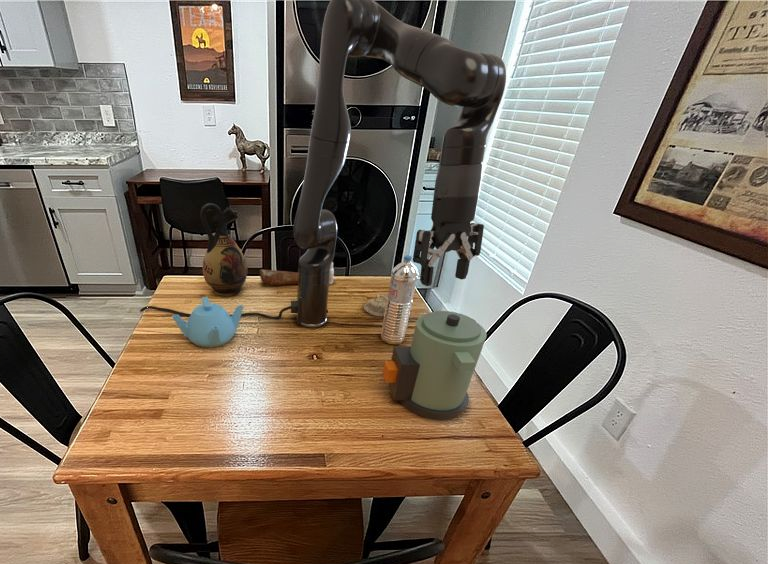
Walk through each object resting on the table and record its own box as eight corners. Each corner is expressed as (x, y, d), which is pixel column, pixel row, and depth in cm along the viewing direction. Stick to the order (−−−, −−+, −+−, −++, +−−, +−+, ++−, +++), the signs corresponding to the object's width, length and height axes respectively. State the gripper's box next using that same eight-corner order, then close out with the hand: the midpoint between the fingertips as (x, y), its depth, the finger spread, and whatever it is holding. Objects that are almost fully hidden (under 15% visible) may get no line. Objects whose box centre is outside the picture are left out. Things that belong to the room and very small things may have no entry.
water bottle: (404, 346, 110) (422, 262, 95) (380, 344, 111) (394, 260, 97) (403, 334, 115) (420, 253, 101) (380, 332, 116) (394, 251, 102)
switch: (385, 382, 87) (388, 370, 85) (382, 373, 90) (384, 360, 88) (396, 382, 87) (399, 370, 85) (392, 373, 90) (395, 360, 88)
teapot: (248, 331, 116) (246, 299, 110) (219, 356, 105) (215, 321, 99) (206, 320, 121) (202, 288, 115) (175, 342, 110) (168, 308, 104)
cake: (398, 309, 130) (402, 295, 127) (385, 321, 123) (389, 306, 120) (371, 299, 134) (374, 285, 131) (358, 310, 128) (361, 295, 124)
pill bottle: (334, 281, 148) (335, 261, 143) (331, 285, 144) (333, 265, 140) (323, 279, 149) (324, 260, 144) (320, 283, 145) (321, 264, 141)
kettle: (400, 428, 83) (421, 344, 71) (378, 367, 102) (391, 291, 89) (482, 428, 83) (517, 344, 71) (445, 367, 102) (468, 292, 90)
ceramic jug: (243, 280, 147) (239, 197, 130) (252, 297, 135) (248, 208, 118) (198, 284, 143) (187, 199, 126) (203, 302, 131) (191, 211, 114)
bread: (259, 281, 146) (259, 267, 143) (309, 280, 148) (310, 266, 145) (260, 288, 141) (259, 273, 138) (311, 287, 143) (312, 272, 140)
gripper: (470, 189, 74) (457, 272, 82) (410, 194, 70) (401, 282, 77) (503, 191, 68) (485, 281, 75) (439, 197, 63) (427, 292, 71)
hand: (443, 281), depth 76 cm, fingers open, 8 cm apart
